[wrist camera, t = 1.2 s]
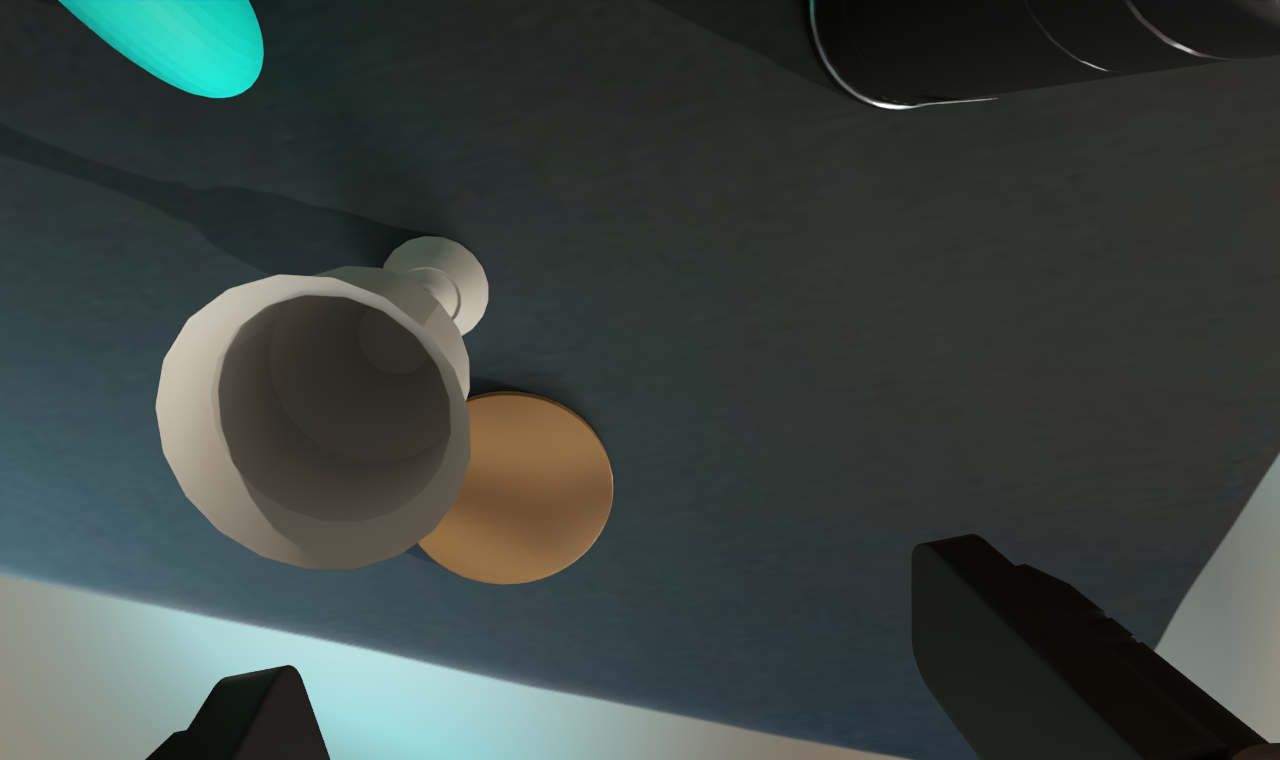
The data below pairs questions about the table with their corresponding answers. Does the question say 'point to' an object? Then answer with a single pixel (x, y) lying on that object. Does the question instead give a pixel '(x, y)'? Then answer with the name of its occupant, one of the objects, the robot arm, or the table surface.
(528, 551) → the coaster
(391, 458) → the chalice
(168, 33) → the turquoise spool
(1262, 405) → the table surface
